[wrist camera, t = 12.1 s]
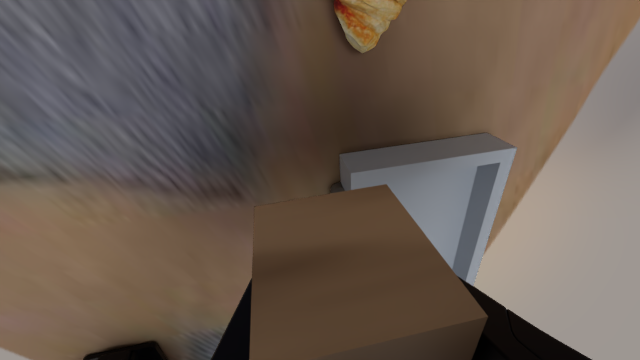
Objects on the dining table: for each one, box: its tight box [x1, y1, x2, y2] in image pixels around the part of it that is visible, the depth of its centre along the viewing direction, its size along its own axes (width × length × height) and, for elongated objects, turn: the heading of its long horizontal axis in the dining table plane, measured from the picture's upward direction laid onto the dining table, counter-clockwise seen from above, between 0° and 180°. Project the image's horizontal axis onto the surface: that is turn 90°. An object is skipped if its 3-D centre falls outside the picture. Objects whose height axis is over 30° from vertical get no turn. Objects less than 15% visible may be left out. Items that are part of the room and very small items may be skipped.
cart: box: [331, 133, 517, 286], centre depth 25 cm, size 20×14×3 cm
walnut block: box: [249, 184, 488, 360], centre depth 8 cm, size 4×4×5 cm
